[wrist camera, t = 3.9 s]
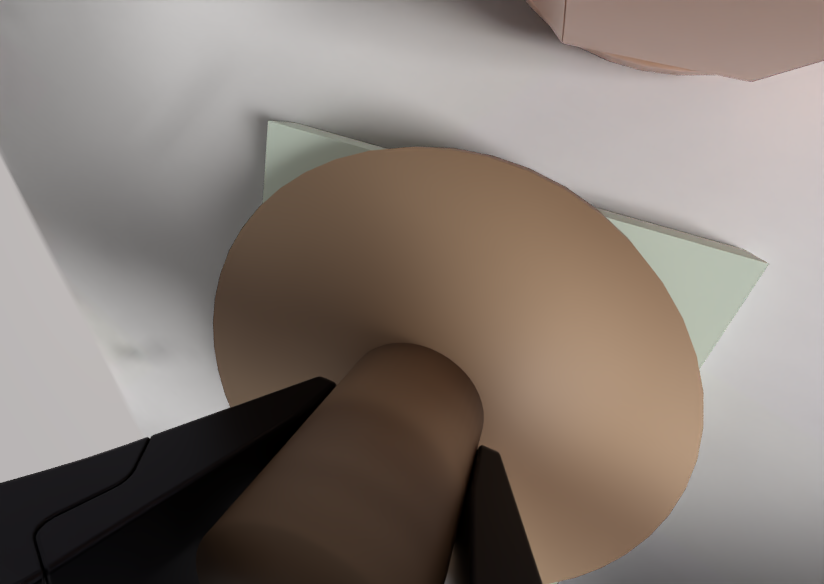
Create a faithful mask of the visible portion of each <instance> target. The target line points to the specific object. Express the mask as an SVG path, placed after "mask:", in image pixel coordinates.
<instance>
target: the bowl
mask: <svg viewBox="0 0 824 584" xmlns="http://www.w3.org/2000/svg"><path fill="white" fill-rule="evenodd" d="M525 1H526V2H527V3H528V5H529V6H530V7H531V9H533V10H534V11H535V12H536V13H537V14H538V15H539V16H540V17H541V18H542V19H543V20H544V21H545V22H546V23H547V24H548V25H549V26H550V27H551V28H552V30H553V31H554V33H555V34H556V36H557V37H558V39H559V40H560V41H561V43H562V42H563V44H567V45H572V46H577V47H580V48H582V49H584V50H586V51H588V52H591V53H593V54H595V55H597V56H599V57H601V58H603V59H606V60H608V61H610V62H614V63H617V64H621V65H624V66H628V67H631V68H635V69H638V70H642V71H649V72H657V73H664V74H672V75H719V76H724V77H729V78H734V79H739V80H744V81H749V82H751V81H752V82H753V81H756V80H759V79H763V78H766V77H770V76H773V75H776V74H780V73H783V72H787V71H790V70H793V69H797V68H800V67H804V66H807V65H810V64H814V63H817V62H821V61H824V0H525Z"/></svg>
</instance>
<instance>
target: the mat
mask: <svg viewBox="0 0 824 584" xmlns="http://www.w3.org/2000/svg"><path fill="white" fill-rule="evenodd" d="M382 149H387V148H383V147H379V146H376V145H372V144H369V143H365V142H362V141H358V140H355V139H351V138H348V137H344V136H341V135H337V134H333V133H330V132H326V131H323V130H319V129H316V128H312V127H309V126H305V125H302V124H298V123H294V122H280V121H268V128H267V143H266V158H265V173H264V188H263V203H264V202H265V201H266V200H267V199H269V198H270V197H271V196H272V195H273V194H274V193H275V192H276V191H278V190H279V189H280V188H281V187H283V186H284V185H286V184H288V183H289V182H291V181H292V180H294V179H295V178H297V177H298V176H300V175H302V174H303V173H305V172H307V171H309V170H311V169H314V168H316V167H318V166H321V165H323V164H325V163H328V162H330V161H332V160H335V159H338V158H342V157H346V156H350V155H354V154H358V153H362V152H366V151H371V150H382ZM263 203H262V204H263ZM595 208H596V207H595ZM596 209H598V210H599V211H600V212H601V213H602V214H603V215H604V216H605V217H606V218H607V219H608V220H610V221H611V222H612V223H613V224H614V225H615V226H616V227H617V228H618V229H619V230H620V231H621V232H622V233H623V234H624V235H625V236H626V237H627V238H628V239H629V240H630V241H631V242H632V244H633V245H634V246H635V248H636V249H637V250H638V251H639V253H640V254H641V255H642V256H643V258H644V259H645V260H646V262H647V263H648V264H649V265H650V267H651V268H652V269H653V271H654V272H655V273H656V274H657V276H658V277H659V278H660V280H661V281H662V282H663V284H664V286H665V287H666V289H667V291H668V293H669V294H670V296H671V298H672V300H673V302H674V303H675V305H676V307H677V309H678V311H679V312H680V314H681V316H682V318H683V320H684V322H685V325H686V328H687V331H688V333H689V336H690V339H691V342H692V344H693V347H694V350H695V353H696V355H697V360H698V366H699V369H700V368H701V366H702V365H703V363H704V362H705V360H706V359H707V357H708V356H709V354H710V353H711V351H712V349H713V348H714V346H715V345H716V343H717V342H718V340H719V339H720V337H721V336H722V334H723V333H724V331H725V330H726V328H727V327H728V325H729V324H730V322H731V321H732V319H733V318H734V316H735V315H736V313H737V312H738V310H739V309H740V307H741V306H742V304H743V303H744V301H745V300H746V298H747V297H748V295H749V293H750V292H751V290H752V289H753V287H754V286H755V284H756V283H757V281H758V280H759V278H760V277H761V275H762V274H763V272H764V271H765V269H766V268H767V266H768V265H769V264H768V263H767V262H765V261H763V260H762V259H760V258H758V257H756V256H755V255H753V254H751V253H749V252H748V251H746V250H744V249H741V248H737V247H734V246H730V245H727V244H723V243H720V242H716V241H712V240H709V239H705V238H702V237H698V236H695V235H691V234H688V233H684V232H681V231H677V230H674V229H670V228H666V227H663V226H659V225H656V224H652V223H649V222H645V221H642V220H638V219H635V218H631V217H627V216H624V215H620V214H617V213H613V212H610V211H606V210H603V209H599V208H596ZM558 583H559V582H555V583H551V584H558Z"/></svg>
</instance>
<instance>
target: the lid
mask: <svg viewBox="0 0 824 584" xmlns="http://www.w3.org/2000/svg"><path fill="white" fill-rule="evenodd" d="M213 332H214V348H215V354H216V360H217V366H218V371H219V375H220V378H221V382H222V385H223V389H224V392H225V395H226V398H227V400H228V403H229V405H230V408H231V407H233V406H236V405H239V404H242V403H245V402H247V401H250V400H253V399H256V398H259V397H261V396H264V395H267V394H270V393H273V392H275V391H278V390H281V389H284V388H287V387H289V386H292V385H295V384H298V383H301V382H303V381H306V380H309V379H312V378H315V377H318V376H321V377H324V378H326V379H329V380H331V381H333V382H335V383H336V387H335V388H334V389H333V390H332V392H331V393H330V394H329V395H328V396H327V397H326V398H325V399H324V401H323V402H322V403H321V404H320V405H319V406H318V407H317V409H316V410H315V411H314V412H313V413H312V414H311V415H310V417H309V418H308V419H307V420H306V421H305V422H304V423H303V424H302V426H301V427H300V428H299V429H298V430H297V431H296V432H295V434H294V435H293V436H292V437H291V438H290V439H289V440H288V441H287V443H286V444H285V445H284V446H283V447H282V448H281V449H280V451H279V452H278V453H277V454H276V455H275V456H274V457H273V459H272V460H271V461H270V462H269V463H268V464H267V465H266V466H265V468H264V469H263V470H262V471H261V472H260V473H259V474H258V476H257V477H256V478H255V479H254V480H253V481H252V482H251V483H250V485H249V486H248V487H247V488H246V489H245V490H244V491H243V493H242V494H241V495H240V496H239V497H238V498H237V499H236V500H235V502H234V503H233V504H232V505H231V506H230V507H229V508H228V510H227V511H226V512H225V513H224V514H223V515H222V516H221V518H220V519H219V520H218V521H217V522H216V523H215V524H214V525H213V527H212V528H211V529H210V530H209V531H208V532H207V533H206V535H205V536H204V537H203V538H202V540H201V542H200V543H199V546H198V549H197V552H196V570H197V575H198V579H199V582H200V584H445V580H446V576H447V572H448V568H449V564H450V560H451V556H452V551H453V547H454V543H455V539H456V535H457V531H458V527H459V523H460V519H461V514H462V510H463V505H464V501H465V497H466V493H467V489H468V485H469V481H470V476H471V472H472V468H473V464H474V460H475V456H476V452H477V449H478V447H479V446H480V445H484V446H486V447H489V448H491V449H493V450H496V451H498V452H499V453H500V455H501V458H502V461H503V464H504V467H505V470H506V473H507V476H508V479H509V482H510V485H511V489H512V492H513V495H514V498H515V501H516V504H517V507H518V510H519V513H520V516H521V519H522V522H523V525H524V528H525V531H526V534H527V537H528V540H529V544H530V547H531V550H532V553H533V556H534V559H535V562H536V565H537V568H538V571H539V574H540V577H541V580H542V583H543V584H551V583H555V582H559V581H563V580H567V579H571V578H576V577H578V576H581V575H584V574H586V573H589V572H591V571H594V570H597V569H599V568H602V567H604V566H606V565H607V564H609V563H611V562H613V561H615V560H616V559H618V558H620V557H622V556H624V555H625V554H627V553H628V552H630V551H631V550H632V549H634V548H635V547H636V546H637V545H639V544H640V543H641V542H643V541H644V540H645V539H646V538H648V537H649V536H650V535H651V534H652V533H653V532H654V531H655V530H656V529H657V527H658V526H659V525H660V524H661V523H662V522H663V521H664V520H665V519H666V518H667V517H668V515H669V514H670V513H671V511H672V510H673V508H674V506H675V505H676V503H677V502H678V500H679V498H680V497H681V495H682V494H683V492H684V491H685V489H686V486H687V484H688V481H689V479H690V476H691V474H692V471H693V469H694V466H695V464H696V461H697V457H698V452H699V447H700V442H701V437H702V431H703V388H702V382H701V377H700V371H699V366H698V360H697V355H696V353H695V350H694V347H693V344H692V342H691V339H690V336H689V333H688V331H687V328H686V325H685V322H684V320H683V318H682V316H681V314H680V312H679V311H678V309H677V307H676V305H675V303H674V302H673V300H672V298H671V296H670V294H669V293H668V291H667V289H666V287H665V286H664V284H663V282H662V281H661V280H660V278H659V277H658V276H657V274H656V273H655V272H654V271H653V269H652V268H651V267H650V265H649V264H648V263H647V262H646V260H645V259H644V258H643V256H642V255H641V254H640V253H639V251H638V250H637V249H636V248H635V246H634V245H633V244H632V242H631V241H630V240H629V239H628V238H627V237H626V236H625V235H624V234H623V233H622V232H621V231H620V230H619V229H618V228H617V227H616V226H615V225H614V224H613V223H612V222H611V221H610V220H608V219H607V218H606V217H605V216H604V215H603V214H602V213H601V212H600V211H599V210H598V209H596V208H595V207H593V206H592V205H590V204H589V203H588V202H586V201H585V200H583V199H582V198H581V197H579V196H578V195H576V194H575V193H573V192H572V191H571V190H569V189H568V188H566V187H565V186H563V185H561V184H559V183H557V182H555V181H553V180H551V179H549V178H547V177H545V176H543V175H541V174H539V173H537V172H535V171H534V170H532V169H530V168H527V167H524V166H521V165H518V164H515V163H512V162H509V161H506V160H504V159H501V158H498V157H495V156H492V155H486V154H481V153H476V152H471V151H466V150H461V149H456V148H438V147H403V148H392V149H382V150H371V151H366V152H362V153H358V154H354V155H350V156H346V157H342V158H338V159H335V160H332V161H330V162H328V163H325V164H323V165H321V166H318V167H316V168H314V169H311V170H309V171H307V172H305V173H303V174H302V175H300V176H298V177H297V178H295V179H294V180H292V181H291V182H289V183H288V184H286V185H284V186H283V187H281V188H280V189H279V190H278V191H276V192H275V193H274V194H273V195H272V196H271V197H270V198H269V199H267V200H266V201H265V202H264V203H263V204H262V205H261V206H260V207H259V208H258V209H257V210H256V211H255V213H254V214H253V215H252V216H251V218H250V219H249V220H248V221H247V223H246V224H245V225H244V226H243V228H242V229H241V231H240V233H239V234H238V236H237V238H236V240H235V241H234V243H233V245H232V247H231V248H230V250H229V253H228V255H227V258H226V260H225V263H224V266H223V268H222V271H221V274H220V278H219V282H218V287H217V291H216V296H215V304H214V316H213Z"/></svg>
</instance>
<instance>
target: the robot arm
mask: <svg viewBox="0 0 824 584" xmlns="http://www.w3.org/2000/svg"><path fill="white" fill-rule="evenodd" d="M335 387H336V383H335V382H333V381H331V380H329V379H326V378H324V377H321V376H318V377H315V378H312V379H309V380H306V381H303V382H301V383H298V384H295V385H292V386H289V387H287V388H284V389H281V390H278V391H275V392H273V393H270V394H267V395H264V396H261V397H259V398H256V399H253V400H250V401H247V402H245V403H242V404H239V405H236V406H233V407H231V408H228V409H225V410H222V411H219V412H217V413H214V414H211V415H208V416H205V417H203V418H200V419H197V420H194V421H191V422H189V423H186V424H183V425H180V426H177V427H175V428H172V429H169V430H166V431H163V432H160V433H158V434H155V435H153V436H151V438H148V437H146V438H143V439H140V440H138V441H135V442H132V443H129V444H126V445H124V446H121V447H118V448H115V449H112V450H109V451H106V452H103V453H100V454H97V455H94V456H91V457H88V458H85V459H81V460H78V461H75V462H72V463H68V464H65V465H61V466H58V467H55V468H51V469H48V470H45V471H41V472H38V473H34V474H31V475H27V476H24V477H20V478H17V479H13V480H10V481H6V482H3V483H0V584H200V582H199V579H198V575H197V570H196V552H197V549H198V546H199V543H200V542H201V540H202V538H203V537H204V536H205V535H206V533H207V532H208V531H209V530H210V529H211V528H212V527H213V525H214V524H215V523H216V522H217V521H218V520H219V519H220V518H221V516H222V515H223V514H224V513H225V512H226V511H227V510H228V508H229V507H230V506H231V505H232V504H233V503H234V502H235V500H236V499H237V498H238V497H239V496H240V495H241V494H242V493H243V491H244V490H245V489H246V488H247V487H248V486H249V485H250V483H251V482H252V481H253V480H254V479H255V478H256V477H257V476H258V474H259V473H260V472H261V471H262V470H263V469H264V468H265V466H266V465H267V464H268V463H269V462H270V461H271V460H272V459H273V457H274V456H275V455H276V454H277V453H278V452H279V451H280V449H281V448H282V447H283V446H284V445H285V444H286V443H287V441H288V440H289V439H290V438H291V437H292V436H293V435H294V434H295V432H296V431H297V430H298V429H299V428H300V427H301V426H302V424H303V423H304V422H305V421H306V420H307V419H308V418H309V417H310V415H311V414H312V413H313V412H314V411H315V410H316V409H317V407H318V406H319V405H320V404H321V403H322V402H323V401H324V399H325V398H326V397H327V396H328V395H329V394H330V393H331V392H332V390H333V389H334V388H335ZM445 584H543V583H542V580H541V577H540V574H539V571H538V568H537V565H536V562H535V559H534V556H533V553H532V550H531V547H530V544H529V540H528V537H527V534H526V531H525V528H524V525H523V522H522V519H521V516H520V513H519V510H518V507H517V504H516V501H515V498H514V495H513V492H512V489H511V485H510V482H509V479H508V476H507V473H506V470H505V467H504V464H503V461H502V458H501V455H500V453H499V452H498V451H496V450H493V449H491V448H489V447H486V446H484V445H480V446H479V447H478V449H477V452H476V456H475V460H474V464H473V468H472V472H471V476H470V481H469V485H468V489H467V493H466V497H465V501H464V505H463V510H462V514H461V519H460V523H459V527H458V531H457V535H456V539H455V543H454V547H453V551H452V556H451V560H450V564H449V568H448V572H447V576H446V580H445Z"/></svg>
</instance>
